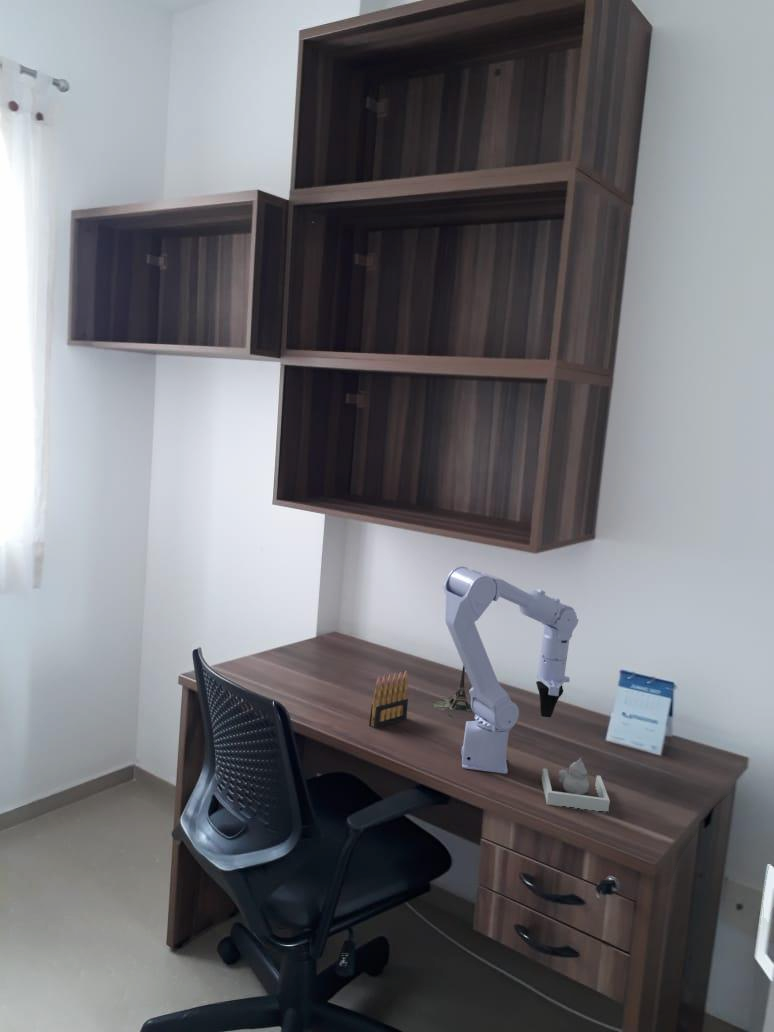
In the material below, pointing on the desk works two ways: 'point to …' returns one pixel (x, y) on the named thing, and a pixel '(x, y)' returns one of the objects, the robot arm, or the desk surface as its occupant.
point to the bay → (576, 796)
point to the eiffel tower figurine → (455, 699)
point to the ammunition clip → (389, 701)
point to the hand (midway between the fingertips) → (545, 715)
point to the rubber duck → (575, 778)
